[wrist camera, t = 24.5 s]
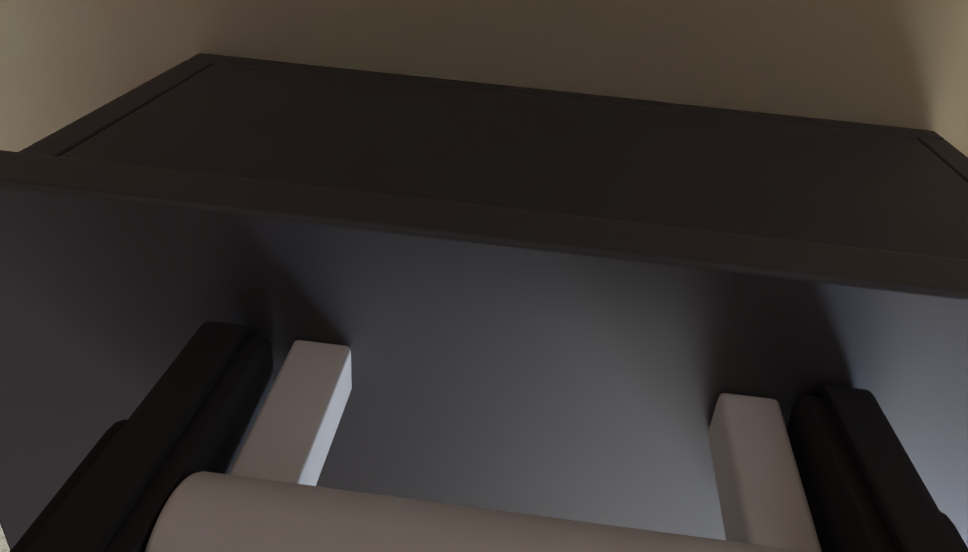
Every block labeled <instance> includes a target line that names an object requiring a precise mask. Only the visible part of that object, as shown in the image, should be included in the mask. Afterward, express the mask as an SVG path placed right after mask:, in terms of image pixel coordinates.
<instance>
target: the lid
mask: <svg viewBox="0 0 968 552" xmlns="http://www.w3.org/2000/svg"><path fill="white" fill-rule="evenodd" d="M205 321H217V322H227V323H236V324H246V325H253V326H254V327H255V328H256V331H257V333H258V338H266V339H269V340H270V342H271V346H272V357H273V374H274V383H273V385H272V387H271V389H270V391H269V393H268V395H267V397H266V399H265V401H264V403H263V405H262V407H261V409H260V412H259V414H258V416H257V418H256V420H255V422H254V424H253V426H252V428H251V430H250V432H249V434H248V436H247V438H246V440H245V442H244V444H243V446H242V448H241V450H240V452H239V454H238V456H237V458H236V460H235V462H234V464H233V466H232V468H231V470H230V472H229V474H221V473H213V472H205V471H201V472H197V473H194V474H191V475H190V476H188V477H187V478H185V479H184V480H183V481H182V482H181V483H180V484H179V485H178V486H177V487H176V489H175V490H174V492H173V493H172V494H171V496H170V497H169V499H168V501H167V502H166V504H165V506H164V508H163V509H162V511H161V513H160V515H159V517H158V519H157V522H156V524H155V526H154V528H153V531H152V533H151V536H150V539H149V541H148V544H147V547H146V550H145V552H822V550H821V547H820V543H819V540H818V537H817V533H816V530H815V526H814V523H813V519H812V516H811V512H810V509H809V505H808V502H807V499H806V495H805V492H804V488H803V485H802V481H801V478H800V474H799V471H798V468H797V464H796V461H795V457H794V454H793V450H792V447H791V443H790V440H789V436H788V433H787V430H786V428H787V425H788V421H789V418H790V414H791V411H792V407H793V404H794V402H795V400H796V398H797V397H798V396H799V395H808V396H810V394H811V392H812V390H813V389H814V388H815V386H817V385H819V384H820V385H829V386H839V387H848V388H858V389H866V390H869V391H870V392H871V393H872V394H873V395H874V397H875V398H876V400H877V402H878V404H879V405H880V407H881V409H882V411H883V412H884V414H885V416H886V418H887V419H888V421H889V423H890V425H891V426H892V428H893V430H894V432H895V433H896V435H897V437H898V439H899V440H900V442H901V444H902V446H903V447H904V449H905V451H906V453H907V454H908V456H909V458H910V460H911V461H912V463H913V465H914V467H915V468H916V470H917V472H918V474H919V475H920V477H921V479H922V481H923V482H924V484H925V486H926V488H927V489H928V491H929V493H930V495H931V496H932V498H933V500H934V502H935V503H936V505H937V507H938V509H939V510H940V511H941V512H942V513H944V514H946V515H947V516H948V517H949V519H950V520H951V521H952V523H953V524H954V525H955V527H956V528H957V530H958V532H959V534H960V535H961V537H962V539H963V541H964V542H965V544H966V546H967V547H968V260H962V259H953V258H945V257H936V256H927V255H918V254H909V253H900V252H892V251H883V250H874V249H865V248H856V247H848V246H839V245H830V244H821V243H812V242H804V241H795V240H786V239H777V238H768V237H760V236H751V235H742V234H733V233H724V232H715V231H707V230H698V229H689V228H680V227H671V226H663V225H654V224H645V223H636V222H627V221H619V220H610V219H601V218H592V217H583V216H575V215H566V214H557V213H548V212H539V211H531V210H522V209H513V208H504V207H495V206H486V205H478V204H469V203H460V202H451V201H442V200H434V199H425V198H416V197H407V196H398V195H390V194H381V193H372V192H363V191H354V190H346V189H337V188H328V187H319V186H310V185H301V184H293V183H284V182H275V181H266V180H257V179H249V178H240V177H231V176H222V175H213V174H205V173H196V172H187V171H178V170H169V169H161V168H152V167H143V166H134V165H125V164H117V163H108V162H99V161H90V160H81V159H72V158H64V157H55V156H46V155H37V154H28V153H20V152H11V151H2V150H0V524H1V526H2V529H3V532H4V535H5V537H6V540H7V543H8V545H9V548H10V551H11V550H12V548H13V547H14V546H15V545H16V543H17V542H18V541H19V540H20V538H21V537H22V536H23V535H24V533H25V532H26V531H27V530H28V528H29V527H30V526H31V525H32V523H33V522H34V521H35V520H36V518H37V517H38V516H39V515H40V513H41V512H42V511H43V510H44V508H45V507H46V506H47V505H48V503H49V502H50V501H51V500H52V498H53V497H54V496H55V495H56V493H57V492H58V491H59V490H60V488H61V487H62V486H63V485H64V483H65V482H66V481H67V480H68V478H69V477H70V476H71V475H72V473H73V472H74V471H75V470H76V468H77V467H78V466H79V465H80V463H81V462H82V461H83V460H84V458H85V457H86V456H87V455H88V453H89V452H90V451H91V450H92V448H93V447H94V446H95V445H96V443H97V442H98V441H99V440H100V438H101V437H102V436H103V435H104V433H105V432H106V431H107V430H108V429H109V428H110V427H111V426H112V425H113V424H114V423H115V422H118V421H121V420H123V419H125V420H128V419H129V417H130V416H131V415H132V414H133V412H134V411H135V410H136V408H137V407H138V406H139V405H140V403H141V402H142V401H143V399H144V398H145V397H146V396H147V394H148V393H149V392H150V390H151V389H152V388H153V387H154V385H155V384H156V383H157V381H158V380H159V379H160V378H161V376H162V375H163V374H164V372H165V371H166V370H167V369H168V367H169V366H170V365H171V364H172V362H173V361H174V360H175V358H176V357H177V356H178V355H179V353H180V352H181V351H182V349H183V348H184V347H185V346H186V344H187V343H188V342H189V340H190V339H191V338H192V337H193V335H194V334H195V333H196V331H197V330H198V329H199V328H200V326H201V325H202V324H203V323H204V322H205Z"/></svg>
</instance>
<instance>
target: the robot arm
mask: <svg viewBox="0 0 968 552" xmlns="http://www.w3.org/2000/svg"><path fill="white" fill-rule="evenodd" d="M273 383H274V374H273V357H272V346H271V342H270V340H269V339H266V338H258V333H257V331H256V328H255V327H254V326H253V325H246V324H236V323H227V322H217V321H205V322H204V323H203V324H202V325H201V326H200V328H199V329H198V330H197V331H196V333H195V334H194V335H193V337H192V338H191V339H190V340H189V342H188V343H187V344H186V346H185V347H184V348H183V349H182V351H181V352H180V353H179V355H178V356H177V357H176V358H175V360H174V361H173V362H172V364H171V365H170V366H169V367H168V369H167V370H166V371H165V372H164V374H163V375H162V376H161V378H160V379H159V380H158V381H157V383H156V384H155V385H154V387H153V388H152V389H151V390H150V392H149V393H148V394H147V396H146V397H145V398H144V399H143V401H142V402H141V403H140V405H139V406H138V407H137V408H136V410H135V411H134V412H133V414H132V415H131V416H130V417H129V419H128V420H125V419H123V420H121V421H118V422H115V423H114V424H113V425H112V426H111V427H110V428H109V429H108V430H107V431H106V432H105V433H104V435H103V436H102V437H101V438H100V440H99V441H98V442H97V443H96V445H95V446H94V447H93V448H92V450H91V451H90V452H89V453H88V455H87V456H86V457H85V458H84V460H83V461H82V462H81V463H80V465H79V466H78V467H77V468H76V470H75V471H74V472H73V473H72V475H71V476H70V477H69V478H68V480H67V481H66V482H65V483H64V485H63V486H62V487H61V488H60V490H59V491H58V492H57V493H56V495H55V496H54V497H53V498H52V500H51V501H50V502H49V503H48V505H47V506H46V507H45V508H44V510H43V511H42V512H41V513H40V515H39V516H38V517H37V518H36V520H35V521H34V522H33V523H32V525H31V526H30V527H29V528H28V530H27V531H26V532H25V533H24V535H23V536H22V537H21V538H20V540H19V541H18V542H17V543H16V545H15V546H14V547H13V548H12V550H11V551H10V552H145V550H146V547H147V544H148V541H149V539H150V536H151V533H152V531H153V528H154V526H155V524H156V522H157V519H158V517H159V515H160V513H161V511H162V509H163V508H164V506H165V504H166V502H167V501H168V499H169V497H170V496H171V494H172V493H173V492H174V490H175V489H176V487H177V486H178V485H179V484H180V483H181V482H182V481H183V480H184V479H185V478H187V477H188V476H190V475H191V474H194V473H197V472H201V471H205V472H213V473H221V474H229V472H230V470H231V468H232V466H233V464H234V462H235V460H236V458H237V456H238V454H239V452H240V450H241V448H242V446H243V444H244V442H245V440H246V438H247V436H248V434H249V432H250V430H251V428H252V426H253V424H254V422H255V420H256V418H257V416H258V414H259V412H260V409H261V407H262V405H263V403H264V401H265V399H266V397H267V395H268V393H269V391H270V389H271V387H272V385H273ZM786 430H787V433H788V436H789V440H790V443H791V447H792V450H793V454H794V457H795V461H796V464H797V468H798V471H799V474H800V478H801V481H802V485H803V488H804V492H805V495H806V499H807V502H808V505H809V509H810V512H811V516H812V519H813V523H814V526H815V530H816V533H817V537H818V540H819V543H820V547H821V550H822V552H968V547H967V546H966V544H965V542H964V541H963V539H962V537H961V535H960V534H959V532H958V530H957V528H956V527H955V525H954V524H953V523H952V521H951V520H950V519H949V517H948V516H947V515H946V514H944V513H942V512H941V511H940V510H939V509H938V507H937V505H936V503H935V502H934V500H933V498H932V496H931V495H930V493H929V491H928V489H927V488H926V486H925V484H924V482H923V481H922V479H921V477H920V475H919V474H918V472H917V470H916V468H915V467H914V465H913V463H912V461H911V460H910V458H909V456H908V454H907V453H906V451H905V449H904V447H903V446H902V444H901V442H900V440H899V439H898V437H897V435H896V433H895V432H894V430H893V428H892V426H891V425H890V423H889V421H888V419H887V418H886V416H885V414H884V412H883V411H882V409H881V407H880V405H879V404H878V402H877V400H876V398H875V397H874V395H873V394H872V393H871V392H870V391H869V390H866V389H858V388H848V387H839V386H829V385H820V384H819V385H817V386H815V388H814V389H813V390H812V392H811V394H810V396H808V395H799V396H798V397H797V398H796V400H795V402H794V404H793V407H792V411H791V414H790V418H789V421H788V425H787V428H786Z"/></svg>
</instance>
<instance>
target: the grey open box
mask: <svg viewBox="0 0 968 552" xmlns="http://www.w3.org/2000/svg"><path fill="white" fill-rule="evenodd" d="M19 152H20V153H28V154H37V155H46V156H55V157H64V158H72V159H81V160H90V161H99V162H108V163H117V164H125V165H134V166H143V167H152V168H161V169H169V170H178V171H187V172H196V173H205V174H213V175H222V176H231V177H240V178H249V179H257V180H266V181H275V182H284V183H293V184H301V185H310V186H319V187H328V188H337V189H346V190H354V191H363V192H372V193H381V194H390V195H398V196H407V197H416V198H425V199H434V200H442V201H451V202H460V203H469V204H478V205H486V206H495V207H504V208H513V209H522V210H531V211H539V212H548V213H557V214H566V215H575V216H583V217H592V218H601V219H610V220H619V221H627V222H636V223H645V224H654V225H663V226H671V227H680V228H689V229H698V230H707V231H715V232H724V233H733V234H742V235H751V236H760V237H768V238H777V239H786V240H795V241H804V242H812V243H821V244H830V245H839V246H848V247H856V248H865V249H874V250H883V251H892V252H900V253H909V254H918V255H927V256H936V257H945V258H953V259H962V260H968V158H967V157H966V156H965V155H964V154H962V153H961V152H960V151H959V150H957V149H956V148H955V147H954V146H952V145H951V144H950V143H949V142H947V141H946V140H944V139H943V138H942V137H941V136H940V135H938V134H937V133H936V132H934V131H929V130H920V129H911V128H901V127H892V126H882V125H873V124H863V123H854V122H844V121H835V120H826V119H816V118H807V117H797V116H788V115H778V114H769V113H759V112H750V111H741V110H731V109H722V108H712V107H703V106H693V105H684V104H674V103H665V102H656V101H646V100H637V99H627V98H618V97H608V96H599V95H589V94H580V93H571V92H561V91H552V90H542V89H533V88H523V87H514V86H504V85H495V84H486V83H476V82H467V81H457V80H448V79H438V78H429V77H419V76H410V75H401V74H391V73H382V72H372V71H363V70H353V69H344V68H334V67H325V66H316V65H306V64H297V63H287V62H278V61H268V60H259V59H249V58H240V57H231V56H221V55H212V54H202V53H200V54H197V55H195V56H194V57H192V58H190V59H189V60H186V61H184V62H182V63H180V64H179V65H177V66H175V67H173V68H171V69H170V70H168V71H166V72H164V73H162V74H160V75H159V76H157V77H155V78H153V79H151V80H149V81H148V82H146V83H144V84H142V85H140V86H138V87H137V88H135V89H133V90H131V91H129V92H127V93H126V94H124V95H122V96H120V97H118V98H116V99H115V100H113V101H111V102H109V103H107V104H105V105H104V106H102V107H100V108H98V109H96V110H94V111H93V112H91V113H89V114H87V115H85V116H83V117H82V118H80V119H78V120H76V121H74V122H72V123H71V124H69V125H67V126H65V127H63V128H61V129H60V130H58V131H56V132H54V133H52V134H51V135H49V136H47V137H45V138H43V139H41V140H40V141H38V142H36V143H34V144H32V145H30V146H29V147H27V148H25V149H23V150H21V151H19Z"/></svg>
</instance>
